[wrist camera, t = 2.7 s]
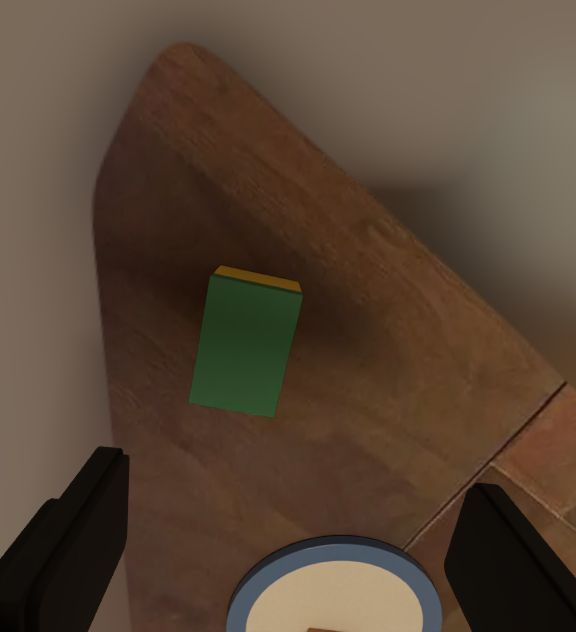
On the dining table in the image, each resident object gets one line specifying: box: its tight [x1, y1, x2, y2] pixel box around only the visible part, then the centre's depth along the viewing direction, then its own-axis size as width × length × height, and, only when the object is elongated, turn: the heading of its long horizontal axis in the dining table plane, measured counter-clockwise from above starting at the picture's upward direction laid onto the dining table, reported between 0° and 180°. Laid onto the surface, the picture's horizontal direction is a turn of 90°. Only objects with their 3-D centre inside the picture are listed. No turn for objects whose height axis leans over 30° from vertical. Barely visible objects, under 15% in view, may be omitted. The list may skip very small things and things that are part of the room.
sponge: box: [189, 265, 303, 418], centre depth 22 cm, size 8×5×4 cm, turn 167°
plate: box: [226, 536, 442, 632], centre depth 31 cm, size 18×18×1 cm
